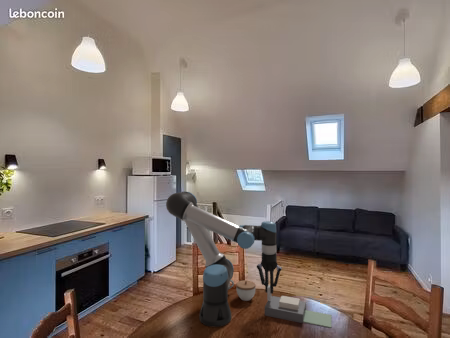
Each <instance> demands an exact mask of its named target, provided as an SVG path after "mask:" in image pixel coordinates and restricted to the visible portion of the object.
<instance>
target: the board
mask: <svg viewBox="0 0 450 338" xmlns="http://www.w3.org/2000/svg"><path fill="white" fill-rule="evenodd" d="M271 297H272V298H271V300H270V301H269V300H267V302H266V303H265V305H264V316H266V317H272V318H275V319H281V320H286V321H289V322H290V321H291V322H295V323H300V324H304V322H303V320H304V316H305V311H306V310H307V302H306V301H304V300H300V306H299V309H298V310H294V309H289V308H284V307H279V301H280V299H281V296H275V295H271Z"/></svg>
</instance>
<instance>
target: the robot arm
mask: <svg viewBox="0 0 450 338" xmlns="http://www.w3.org/2000/svg"><path fill="white" fill-rule="evenodd" d="M165 206H166V210H167V211H168V213H169V214H170V215H172V216H173V217H175V218H176V219H177V218H178V219H179V220H180V221H182V222H184V223H185V224H186V227H187V228H188V231H189V232H190V234H191V236H192V238H193V239H194V242H195V243H196V245H197V247H198V249H199V251H200V253H201V255H202V256H203V258H204V260H205V264H204V266H205V268H204V270H203V274H202V280H203V281H202V282H203V283H202V284H203V285H202V286H203V287H202V290H203V291H202V293H203V294H202V298H203V300H202V305H201V308H200V311H199V321H200V323H201V324H202V323H203V324H202V325H204V326H207V327H212V328H217V327H218V328H219V327H223V326H226V325H228V324H229V323H230V322H231V321H232V311H231V308H230V305H229V300H228V291H229V290H228V284H229V282H230V280H233V279H232V278H233V275H234V268H235V267H234V265H233V263H232V262H231V260H230V259H228V258H227V257H226V255H225V254H224V253H222V252H221V251H220V250H219V249H218V247H217V245H216V242H215V241H214V239H213V237H212V235H211V233H210V232H209V231H211V232H213V233H215V234H217V235H219V236H221V237H223V238H225V239H228V240H230V241H231V242H234V243H236V244H237V245H238V246H239V247H240V248H242V249H244V250H246V249H249V248H250V249H251V248H252V246H253V245H254V244H255V241H260V242H261V262H260V263H259V264H257V265H256V268H257V271H258V274H259V278H260V279H259V280H260V283H261V285H262V286H265V287H264V290H265V293H266V294H267V299H266V300H267V301H268V300H269V301H270V300H271V298H272V297H271V296H272V294H273V293H274V288H276V287H277V285H278V281H279V278H280V273H281V271H282V269H283V267H282V266H279V265H278V260H277V259H278V258H277V224H276V222H274V221H262V222H261V224H260V225H254V224H253V225H251V224H249V225H248V224H240V225H237V224H235V223H233V222H231V221H228V220H227V219H224V218H222V217H220V216H217V215H216V214H213V213H211V212H209V211H207V210H205V209H202V208H200V207H199V206H198V200H197V197H196V195H195V194H193V193H192V192H190V191H180V192H174V193H173V194H171V195H170V196H168V197H167V199H166V202H165ZM263 269H264V271H263ZM275 269H276V273H275V279H274V271H275ZM230 283H231V282H230Z"/></svg>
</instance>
